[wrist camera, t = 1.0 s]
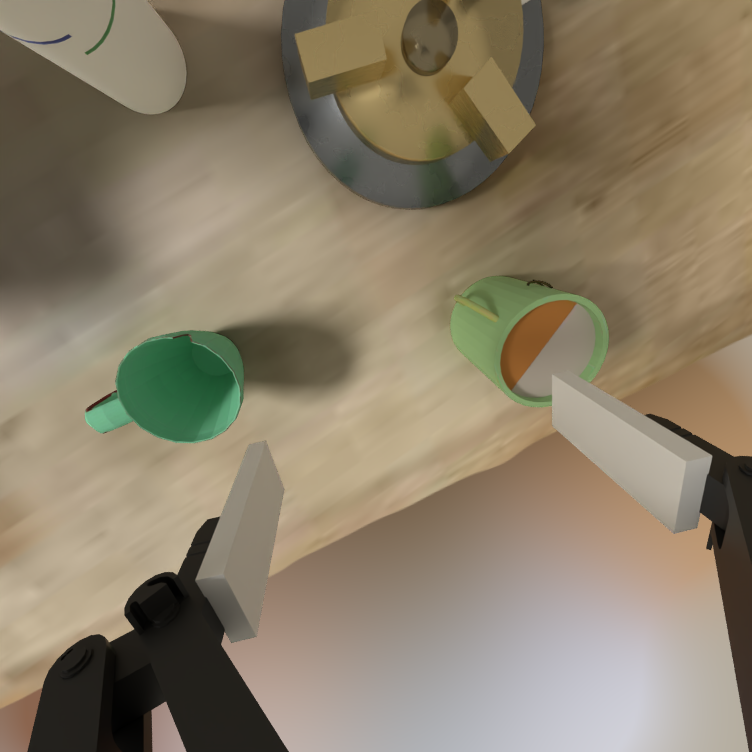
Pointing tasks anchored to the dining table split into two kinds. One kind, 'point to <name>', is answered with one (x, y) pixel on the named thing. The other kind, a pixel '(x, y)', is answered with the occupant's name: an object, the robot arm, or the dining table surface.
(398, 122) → the three-jaw lathe chuck
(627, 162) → the dining table surface
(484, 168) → the ring
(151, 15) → the cylindrical container
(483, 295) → the mug
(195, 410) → the mug
